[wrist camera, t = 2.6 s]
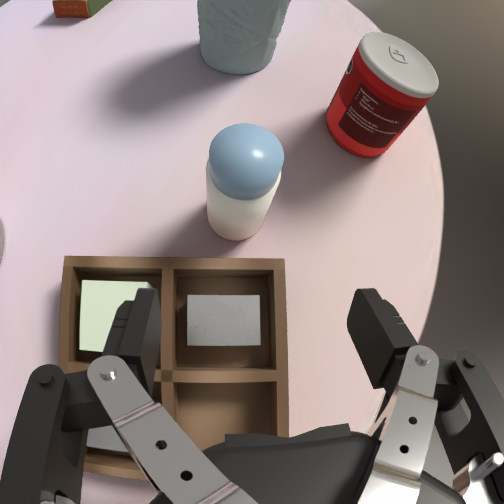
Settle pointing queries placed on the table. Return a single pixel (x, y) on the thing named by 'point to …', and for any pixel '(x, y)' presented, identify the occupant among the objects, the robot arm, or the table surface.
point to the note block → (102, 309)
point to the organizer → (193, 348)
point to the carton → (78, 7)
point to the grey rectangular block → (223, 320)
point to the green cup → (239, 33)
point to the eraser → (106, 438)
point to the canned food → (379, 94)
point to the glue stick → (242, 179)
